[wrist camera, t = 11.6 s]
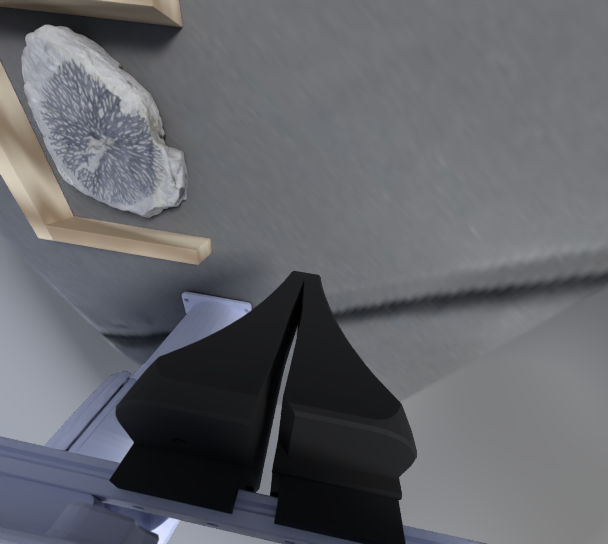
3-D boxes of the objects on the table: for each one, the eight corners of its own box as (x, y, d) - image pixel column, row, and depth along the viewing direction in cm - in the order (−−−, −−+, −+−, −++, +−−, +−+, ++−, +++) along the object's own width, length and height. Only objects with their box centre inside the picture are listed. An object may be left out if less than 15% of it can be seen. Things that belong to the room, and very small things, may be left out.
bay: (212, 252, 21) (198, 264, 19) (66, 228, 22) (38, 237, 20) (177, -11, 12) (144, -41, 10) (-67, -37, 13) (-145, -70, 11)
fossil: (200, 182, 15) (100, 248, 17) (220, 183, 19) (136, 238, 21) (67, -17, 12) (-44, 93, 13) (124, 33, 16) (32, 114, 17)
